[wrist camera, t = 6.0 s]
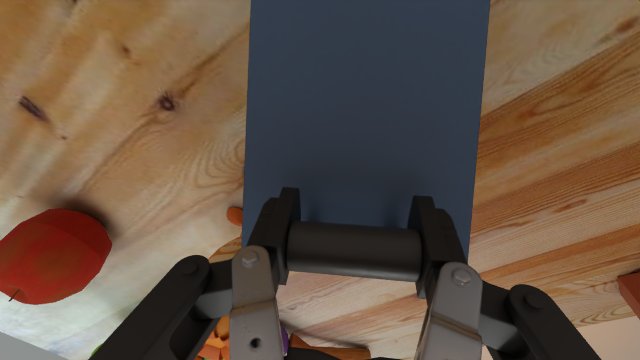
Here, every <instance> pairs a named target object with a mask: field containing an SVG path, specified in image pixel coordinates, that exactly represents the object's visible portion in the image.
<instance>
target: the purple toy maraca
mask: <svg viewBox="0 0 640 360" xmlns="http://www.w3.org/2000/svg"><path fill="white" fill-rule="evenodd" d="M280 327H281V334H282V341H283V347H284V353H285V354H286V353H287V352H288V347H298V348H307V349H315V350H320V351H322V352H324V353H327V354H329V355H332V356H334V357H337V358H339V359H341V360H366V359H371V354H370V351H369V349H359V348H336V347H314V346H310V345H308V344H307V343H306V342H304V341H303V340H302V339H300V338H299V337H298V336H297V335H295V334H294V333H291V336H290V339H289V338H288V334H287V332H286V331H285V329H284V328H283V327H282V326H280Z"/></svg>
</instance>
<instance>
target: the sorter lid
mask: <svg viewBox="0 0 640 360" xmlns="http://www.w3.org/2000/svg"><path fill="white" fill-rule="evenodd" d="M489 10H490V0H251V14H250V39H249V65H248V90H247V116H246V142H245V167H244V193H243V219H242V244H241V249H242V248H244V247H246V245H247V243H248V240H249V238H250V235H251V233H252V231H253V228H254V226H255V223H256V221H257V219H258V216H259V214H260V211H261V209H262V206H263V204H264V203H265V202H266V201H267V200H268V199H269V198H271V197H276V198H279V195H280V193H281V190H282V188H283V187H292V188H299V191H300V205H301V221H298V220H294V221H292V222H291V224H290V227H289V230H288V235H287V242H286V267H287V269H288V270H289V271H297V272H308V273H319V274H330V275H341V276H352V277H363V278H374V279H385V280H396V281H407V282H417V281H418V280H419V278H420V275H421V272H422V265H423V246H422V239H421V235H420V233H419V231H418V230H416V229H407V223H408V217H409V213H410V208H411V204H412V199H413V196H414V195H418V196H432V198H433V201H434V204H435V208H440V209H444V210H445V211H446V212H447V213H448V214H449V215H450V216H451V217H452V220H453V223H454V225H455V228H456V231H457V234H458V235H457V236H458V237H459V240H460V243H461V245H462V248H463V251H464V254H465V257H466V260H467V263H468V253H469V241H470V230H471V218H472V207H473V195H474V184H475V172H476V161H477V149H478V137H479V126H480V114H481V103H482V91H483V80H484V68H485V57H486V45H487V33H488V22H489Z"/></svg>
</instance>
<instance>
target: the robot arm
mask: <svg viewBox="0 0 640 360" xmlns="http://www.w3.org/2000/svg"><path fill="white" fill-rule="evenodd" d="M294 220H298V221H301V205H300V191H299V188H292V187H283V188H282V190H281V193H280V195H279V198H276V197H271V198H269V199H268V200H267V201H266V202H265V203H264V204H263V206H262V209H261V211H260V214H259V216H258V219H257V221H256V223H255V226H254V228H253V231H252V233H251V235H250V238H249V240H248V243H247V245H246V247H244V248H242V249H240V250H239V251H238V252H237V253H236V254H235V255H234V257H233V258H231V259H229V260H224V261H219V262H214V263H210V262H209V260H208V259H207V258H206V257H204V256H201V255H192V256H188V257H186V258H183V259H182V260H180V261H179V262H177V263H176V264H175V265H174V266H173V268H172V269H171V270H170V271H169V272H168V273H167V274H166V275H165V276H164V277H163V279H162V280H161V281H160V282H159V283H158V284H157V285H156V286H155V287H154V288H153V289H152V291H151V292H150V293H149V294H148V295H147V296H146V297H145V298H144V299H143V300H142V301H141V303H140V304H139V305H138V306H137V307H136V308H135V309H134V310H133V311H132V312H131V313H130V315H129V316H128V317H127V318H126V319H125V320H124V321H123V322H122V323H121V324H120V326H119V327H118V328H117V329H116V330H115V331H114V332H113V333H112V334H111V335H110V336H109V338H108V339H107V340H106V341H105V342H104V343H103V344H102V345H101V346H100V347H99V348H98V350H97V351H96V352H95V353H94V354H93V355H92V356H91V357H90V358H89V359H88V360H194V359H195V358H196V356H197V355H198V353H199V352H200V350H201V348H202V347H203V345H204V344H205V342H206V341H207V339H208V338H209V336H210V335H211V333H212V332H213V330H214V328H215V327H216V325H217V324H218V322H219V321H220V319H221V318H222V317H223V316H227V315H229V356H230V360H341V359H339V358H337V357H334V356H332V355H329V354H327V353H324V352H322V351H320V350H315V349H307V348H298V347H288V352H287V355H286V356H285V353H284V347H283V341H282V334H281V327H280V321H279V314H278V307H277V300H276V293H277V289H278V285H286V282H287V278H288V274H289V270H288V269H287V267H286V242H287V235H288V230H289V227H290V224H291V222H292V221H294ZM407 229H416V230H418V231H419V233H420V235H421V239H422V246H423V265H422V272H421V275H420V278H419V280H418V281H417V282H415V284H416V290H417V296H418V298H421V299H426V300H427V306H428V307H427V310H426V313H425V317H424V321H423V325H422V329H421V333H420V337H419V341H418V345H417V349H416V353H415V357H414V360H481V355H482V344H484V345H486V347H487V349H488V351H489V352H490V354H491V356H492V358H493V360H601V359H600V357H599V356H598V355H597V354H596V352H595V351H594V350H593V349H592V347H591V346H590V345H589V344H588V343H587V342H586V340H585V339H584V338H583V336H582V335H581V334H580V333H579V332H578V330H577V329H576V328H575V327H574V325H573V324H572V323H571V322H570V321H569V319H568V318H567V317H566V316H565V314H564V313H563V312H562V311H561V310H560V308H559V307H558V306H557V305H556V303H555V302H554V301H553V300H552V299H551V298H550V297H549V296H548V295H547V294H546V293H544V292H543V291H541V290H540V289H538V288H536V287H533V286H530V285H524V284H519V285H515V286H513V287H512V288H511V290H510V291H509V290H506V289H504V288H501V287H498V286H495V285H492V284H490V283H487V282H485V281H483V280H482V279H481V277H480V275H479V274H478V273H477V272H476V271H475V270H474V269H473V268H472V267H470V266H469V265H468V263H467V260H466V257H465V254H464V251H463V248H462V245H461V243H460V240H459V237H458V236H457V235H458V234H457V231H456V228H455V225H454V223H453V220H452V217H451V216H450V215H449V214H448V213H447V212H446V211H445V210H444V209H440V208H435V204H434V201H433V198H432V196H418V195H414V196H413V199H412V204H411V208H410V213H409V217H408V223H407ZM366 360H401V359H393V358H384V357H378V358H372V359H366Z"/></svg>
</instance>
